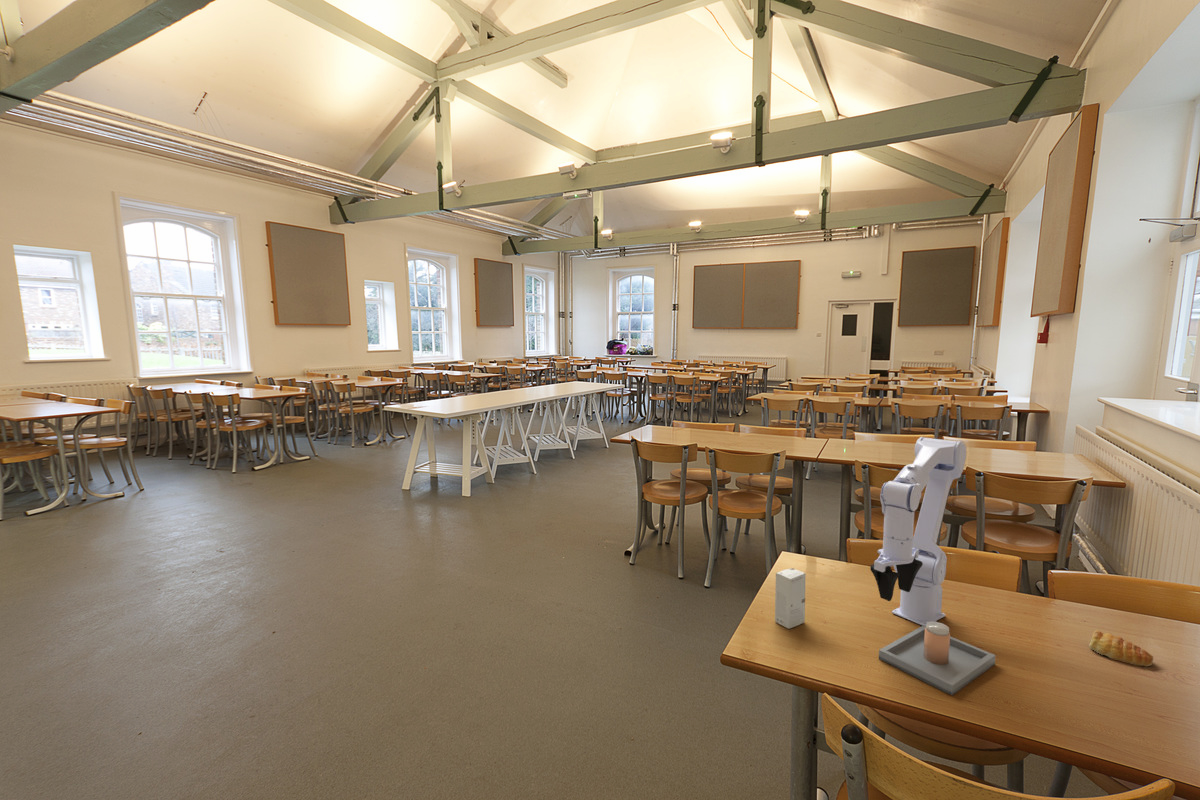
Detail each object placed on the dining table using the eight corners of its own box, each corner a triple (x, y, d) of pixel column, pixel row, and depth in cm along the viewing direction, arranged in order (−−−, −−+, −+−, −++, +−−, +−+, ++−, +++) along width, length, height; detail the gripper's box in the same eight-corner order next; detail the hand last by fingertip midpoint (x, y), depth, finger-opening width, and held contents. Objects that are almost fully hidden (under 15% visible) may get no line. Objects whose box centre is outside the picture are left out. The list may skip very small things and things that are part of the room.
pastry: (1154, 660, 109) (1156, 643, 109) (1150, 673, 105) (1151, 655, 105) (1093, 641, 117) (1094, 624, 116) (1086, 652, 113) (1088, 635, 112)
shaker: (927, 650, 112) (929, 618, 112) (951, 659, 109) (953, 626, 109) (920, 658, 110) (922, 625, 109) (944, 667, 106) (946, 634, 106)
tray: (923, 633, 120) (923, 625, 120) (994, 664, 108) (995, 655, 108) (878, 658, 110) (879, 649, 110) (951, 695, 99) (952, 685, 98)
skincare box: (789, 629, 122) (790, 579, 121) (773, 621, 126) (774, 572, 125) (805, 622, 126) (807, 573, 124) (789, 614, 129) (791, 566, 128)
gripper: (897, 524, 124) (895, 580, 125) (861, 536, 116) (859, 595, 117) (929, 533, 118) (926, 591, 119) (893, 546, 110) (890, 608, 111)
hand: (895, 594), depth 118 cm, fingers open, 7 cm apart
